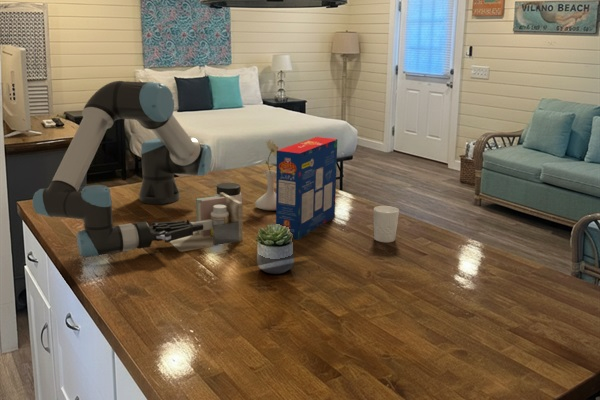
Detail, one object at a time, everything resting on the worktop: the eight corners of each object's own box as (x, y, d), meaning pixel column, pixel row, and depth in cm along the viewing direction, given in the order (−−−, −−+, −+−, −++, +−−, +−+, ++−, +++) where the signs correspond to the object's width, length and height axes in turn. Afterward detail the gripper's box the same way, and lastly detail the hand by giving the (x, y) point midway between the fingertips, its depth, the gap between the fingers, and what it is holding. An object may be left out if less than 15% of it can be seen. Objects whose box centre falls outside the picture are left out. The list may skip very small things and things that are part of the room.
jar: (246, 220, 211) (245, 186, 208) (226, 224, 206) (225, 190, 203) (231, 213, 218) (231, 181, 215) (212, 217, 213) (211, 184, 210)
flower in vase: (288, 212, 221) (289, 144, 214) (256, 213, 219) (256, 144, 212) (283, 202, 233) (283, 137, 226) (253, 203, 231) (253, 138, 224)
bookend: (213, 244, 184) (212, 225, 183) (237, 240, 188) (237, 221, 187) (214, 245, 183) (214, 226, 182) (238, 241, 187) (238, 222, 186)
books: (197, 232, 195) (196, 197, 192) (220, 228, 199) (219, 193, 196) (203, 236, 191) (202, 201, 187) (226, 232, 195) (226, 197, 192)
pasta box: (314, 213, 220) (316, 136, 213) (334, 216, 217) (337, 139, 209) (275, 235, 197) (276, 150, 189) (297, 240, 193) (299, 153, 185)
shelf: (164, 241, 190) (162, 200, 186) (223, 231, 200) (223, 192, 196) (180, 255, 178) (179, 212, 175) (242, 244, 188) (242, 203, 185)
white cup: (398, 236, 198) (400, 207, 195) (394, 244, 191) (396, 214, 188) (375, 233, 200) (376, 204, 197) (369, 241, 193) (371, 211, 190)
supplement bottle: (220, 233, 194) (221, 202, 191) (232, 238, 190) (232, 206, 187) (207, 237, 190) (206, 205, 187) (218, 242, 186) (218, 209, 183)
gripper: (129, 241, 181) (203, 229, 193) (142, 255, 170) (220, 242, 182) (127, 217, 179) (202, 206, 191) (140, 230, 168) (219, 218, 180)
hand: (211, 224), depth 187 cm, fingers closed
